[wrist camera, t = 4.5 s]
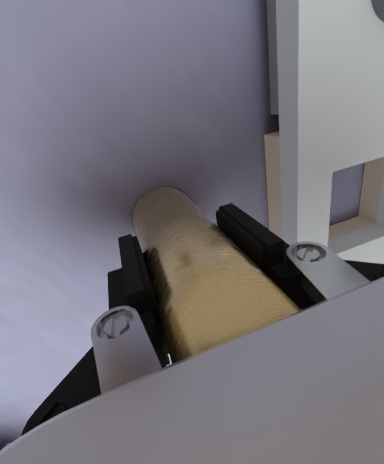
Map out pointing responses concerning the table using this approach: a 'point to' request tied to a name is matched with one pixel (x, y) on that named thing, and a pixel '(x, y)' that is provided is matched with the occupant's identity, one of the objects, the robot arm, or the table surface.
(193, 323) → the brass pin
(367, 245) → the white peg board
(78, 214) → the table surface
